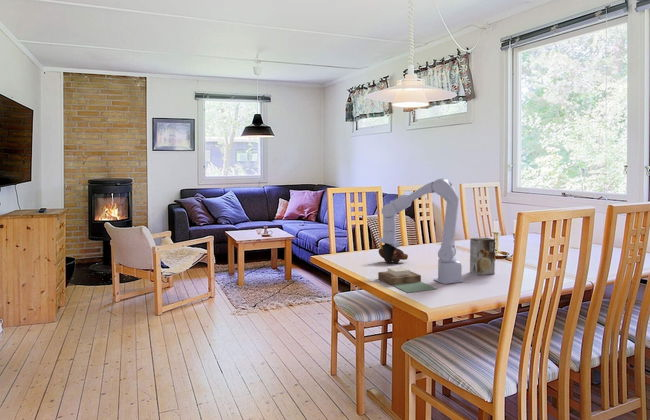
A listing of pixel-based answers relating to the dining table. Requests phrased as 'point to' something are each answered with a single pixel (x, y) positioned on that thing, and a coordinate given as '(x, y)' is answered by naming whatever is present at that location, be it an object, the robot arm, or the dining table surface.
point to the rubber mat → (414, 287)
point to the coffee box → (482, 256)
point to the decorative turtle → (394, 255)
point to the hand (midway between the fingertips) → (388, 260)
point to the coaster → (398, 271)
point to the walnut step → (398, 278)
